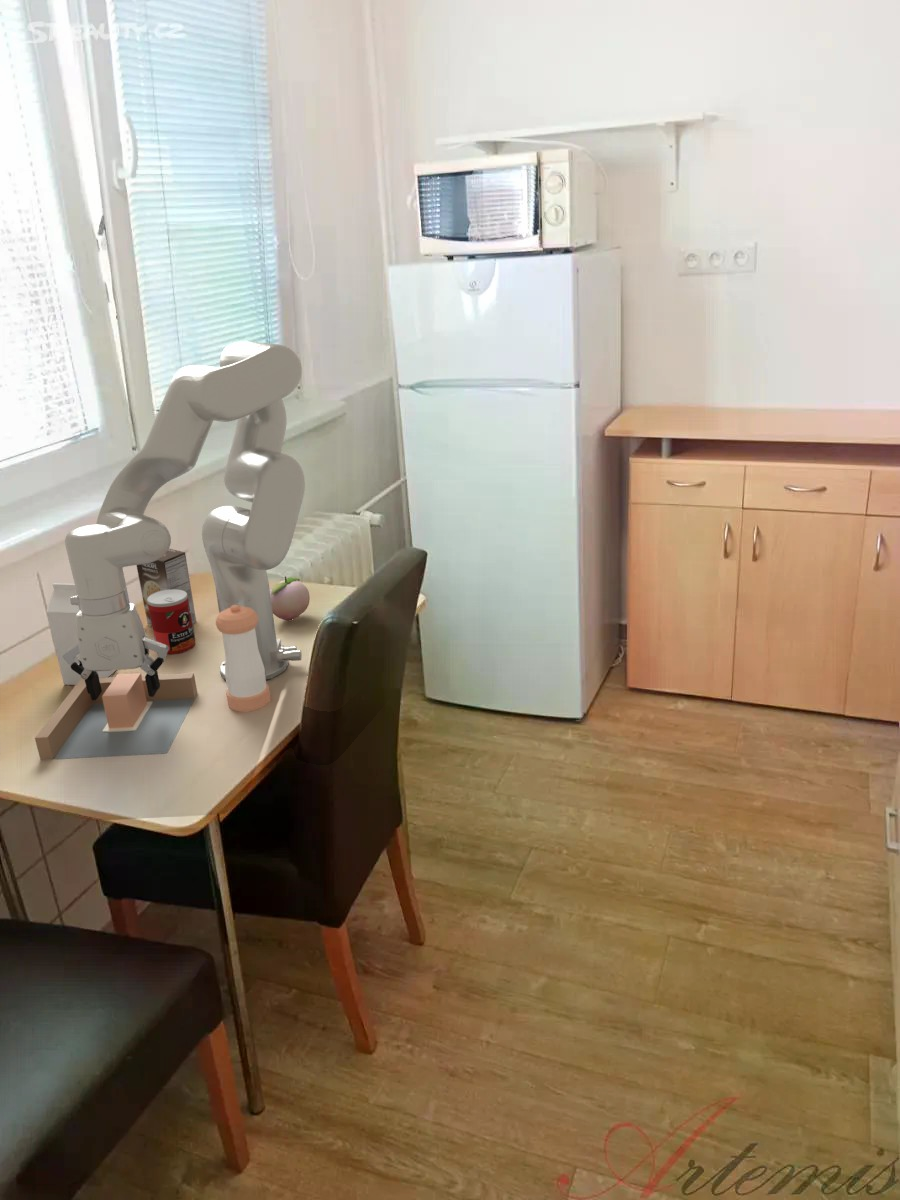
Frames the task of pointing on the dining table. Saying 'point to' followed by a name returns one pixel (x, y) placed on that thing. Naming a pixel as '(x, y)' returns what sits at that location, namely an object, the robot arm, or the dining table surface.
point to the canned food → (172, 620)
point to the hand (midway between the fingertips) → (125, 694)
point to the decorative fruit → (289, 598)
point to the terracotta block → (124, 700)
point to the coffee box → (165, 578)
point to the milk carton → (66, 629)
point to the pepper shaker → (242, 659)
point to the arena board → (88, 734)
